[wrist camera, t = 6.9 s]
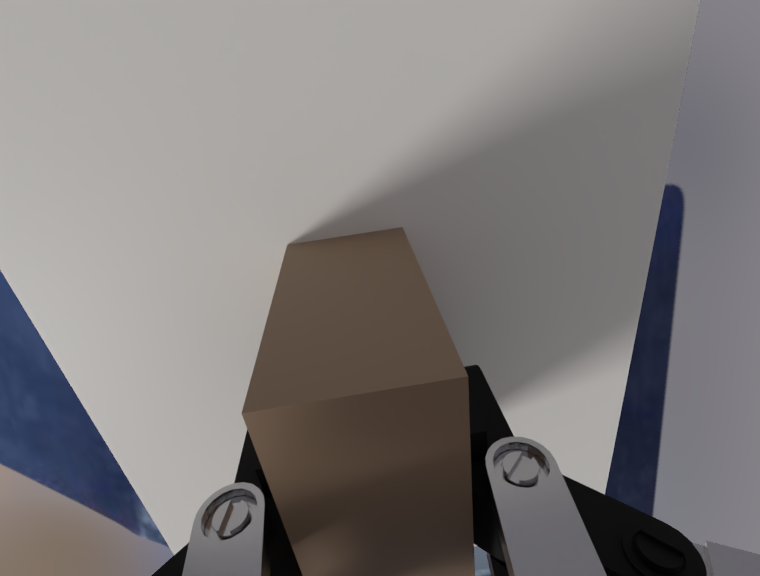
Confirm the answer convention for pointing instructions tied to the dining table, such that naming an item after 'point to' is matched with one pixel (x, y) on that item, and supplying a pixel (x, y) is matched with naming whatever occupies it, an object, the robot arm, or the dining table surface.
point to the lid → (338, 242)
